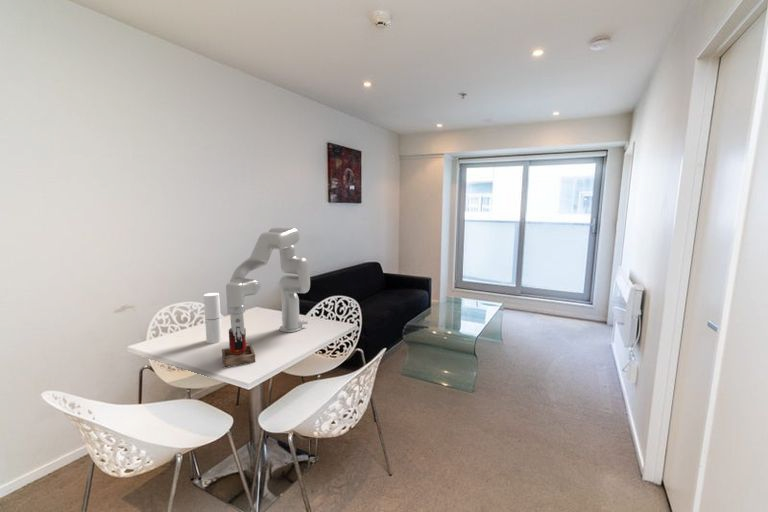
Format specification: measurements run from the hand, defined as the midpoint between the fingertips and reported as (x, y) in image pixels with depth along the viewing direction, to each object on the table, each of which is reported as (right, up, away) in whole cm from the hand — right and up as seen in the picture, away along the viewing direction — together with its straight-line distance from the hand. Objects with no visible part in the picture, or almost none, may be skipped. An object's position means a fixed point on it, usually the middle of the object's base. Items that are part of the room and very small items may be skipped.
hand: (238, 346), depth 157 cm
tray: (0, -6, +1) cm, 6 cm away
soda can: (0, -4, 0) cm, 4 cm away
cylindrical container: (-22, -3, +22) cm, 31 cm away
